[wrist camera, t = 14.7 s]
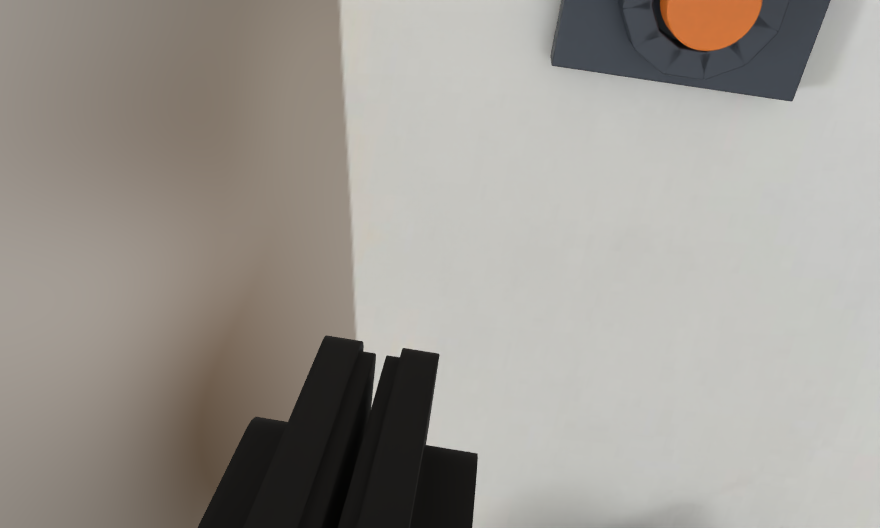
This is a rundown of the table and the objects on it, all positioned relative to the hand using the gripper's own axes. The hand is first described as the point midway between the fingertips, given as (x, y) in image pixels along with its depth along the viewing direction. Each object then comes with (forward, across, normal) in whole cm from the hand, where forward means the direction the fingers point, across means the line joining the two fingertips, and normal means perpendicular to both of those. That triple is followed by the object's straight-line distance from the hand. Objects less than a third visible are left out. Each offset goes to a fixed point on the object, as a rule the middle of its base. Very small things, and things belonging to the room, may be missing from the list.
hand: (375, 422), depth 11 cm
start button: (+24, -9, -4) cm, 26 cm away
